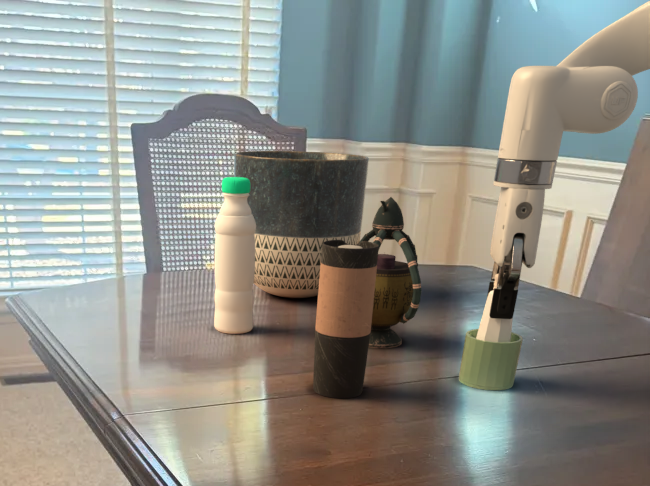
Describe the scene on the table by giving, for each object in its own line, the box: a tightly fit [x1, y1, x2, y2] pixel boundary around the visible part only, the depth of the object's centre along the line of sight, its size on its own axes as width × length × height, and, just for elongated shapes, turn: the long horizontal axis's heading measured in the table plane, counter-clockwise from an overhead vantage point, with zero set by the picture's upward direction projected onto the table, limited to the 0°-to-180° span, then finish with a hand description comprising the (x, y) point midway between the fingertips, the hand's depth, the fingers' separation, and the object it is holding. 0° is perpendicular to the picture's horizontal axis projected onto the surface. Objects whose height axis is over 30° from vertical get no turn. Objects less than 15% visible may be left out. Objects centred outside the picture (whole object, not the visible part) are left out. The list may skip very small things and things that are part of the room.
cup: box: [458, 328, 524, 391], centre depth 115 cm, size 8×8×7 cm
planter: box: [233, 150, 369, 299], centre depth 159 cm, size 27×27×27 cm
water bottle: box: [213, 176, 256, 335], centre depth 133 cm, size 7×7×25 cm
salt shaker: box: [476, 273, 514, 342], centre depth 111 cm, size 5×5×11 cm
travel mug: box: [312, 240, 380, 399], centre depth 106 cm, size 8×8×20 cm
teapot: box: [357, 196, 422, 349], centre depth 132 cm, size 12×25×23 cm, turn 179°
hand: (498, 312), depth 111 cm, fingers closed on salt shaker, 4 cm apart
